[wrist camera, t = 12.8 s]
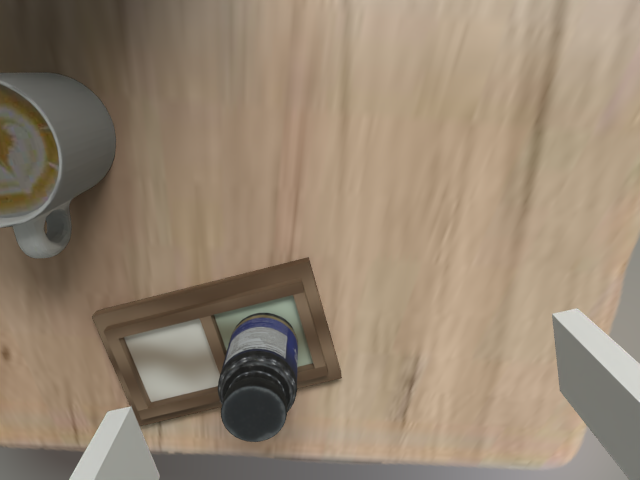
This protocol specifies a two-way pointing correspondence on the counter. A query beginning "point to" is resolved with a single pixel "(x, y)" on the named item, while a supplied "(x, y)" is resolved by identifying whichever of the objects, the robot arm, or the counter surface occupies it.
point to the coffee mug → (49, 155)
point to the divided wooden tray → (209, 338)
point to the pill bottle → (258, 377)
